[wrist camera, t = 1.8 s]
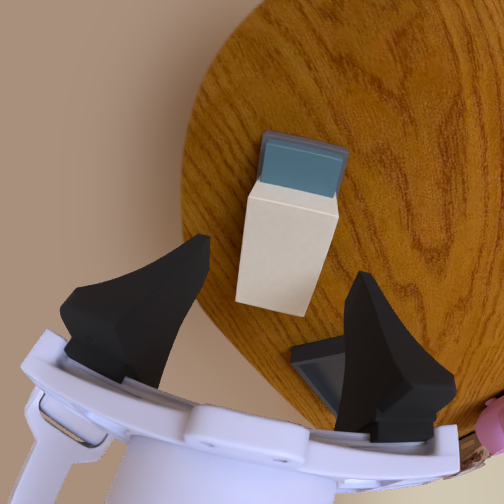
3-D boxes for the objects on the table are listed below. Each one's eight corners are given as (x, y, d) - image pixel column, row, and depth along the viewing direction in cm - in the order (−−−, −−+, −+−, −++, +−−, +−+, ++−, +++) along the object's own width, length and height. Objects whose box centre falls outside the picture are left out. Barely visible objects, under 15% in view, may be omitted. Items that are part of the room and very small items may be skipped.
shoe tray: (292, 346, 26) (289, 363, 24) (380, 325, 22) (382, 343, 20) (339, 408, 32) (338, 420, 31) (400, 396, 29) (401, 409, 27)
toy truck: (309, 278, 21) (305, 322, 17) (246, 263, 21) (231, 305, 18) (347, 147, 15) (357, 170, 11) (266, 130, 15) (249, 146, 12)
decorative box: (496, 428, 36) (500, 459, 28) (437, 455, 48) (437, 483, 40) (483, 425, 34) (487, 461, 26) (416, 454, 46) (415, 486, 38)
